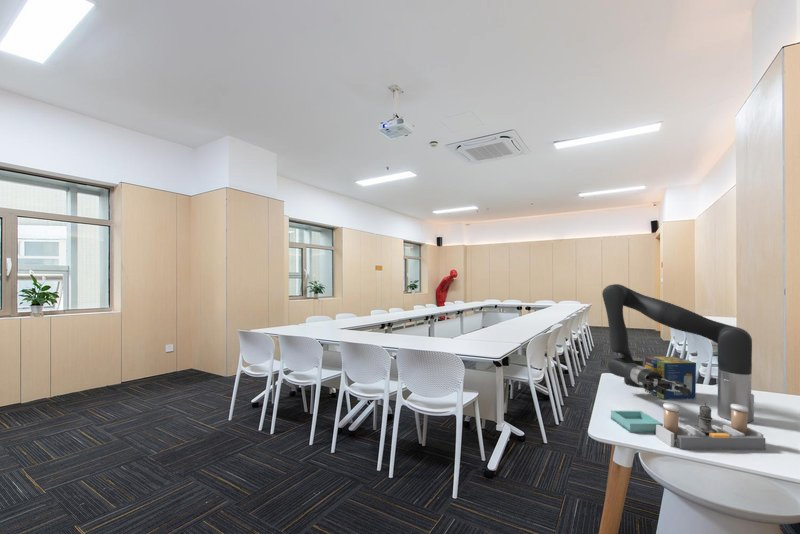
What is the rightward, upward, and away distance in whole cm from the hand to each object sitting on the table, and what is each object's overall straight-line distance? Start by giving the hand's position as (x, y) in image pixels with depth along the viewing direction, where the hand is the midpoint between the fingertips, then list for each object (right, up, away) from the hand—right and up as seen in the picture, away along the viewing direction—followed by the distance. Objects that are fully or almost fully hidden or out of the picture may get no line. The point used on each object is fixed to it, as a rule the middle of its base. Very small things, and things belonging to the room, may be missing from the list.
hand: (677, 392), depth 129 cm
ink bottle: (+14, -12, +45) cm, 48 cm away
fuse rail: (0, -11, -11) cm, 16 cm away
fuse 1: (-11, -11, -11) cm, 19 cm away
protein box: (+20, -12, +31) cm, 39 cm away
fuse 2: (+11, -11, -11) cm, 20 cm away
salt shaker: (0, -12, -11) cm, 16 cm away
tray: (-15, -11, -1) cm, 19 cm away
